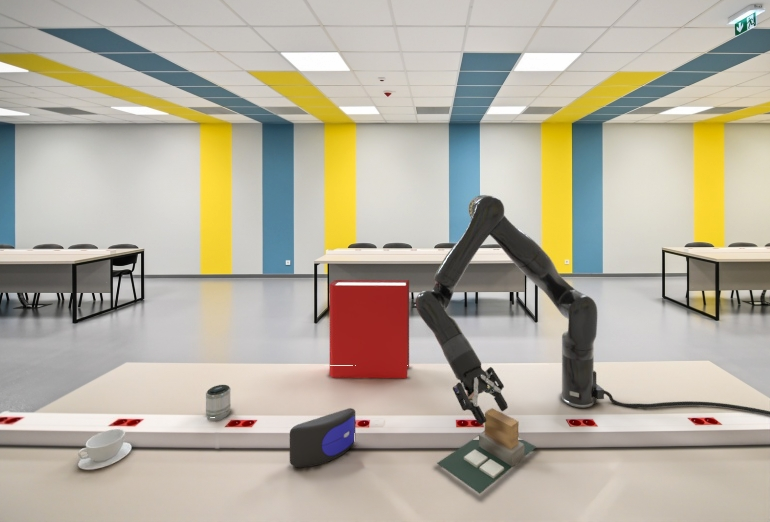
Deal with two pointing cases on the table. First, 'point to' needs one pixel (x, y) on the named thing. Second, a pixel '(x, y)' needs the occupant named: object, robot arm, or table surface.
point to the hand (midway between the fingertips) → (494, 416)
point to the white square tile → (475, 458)
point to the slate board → (470, 472)
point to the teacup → (104, 449)
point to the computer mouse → (322, 438)
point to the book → (369, 328)
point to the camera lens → (218, 402)
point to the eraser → (501, 437)
